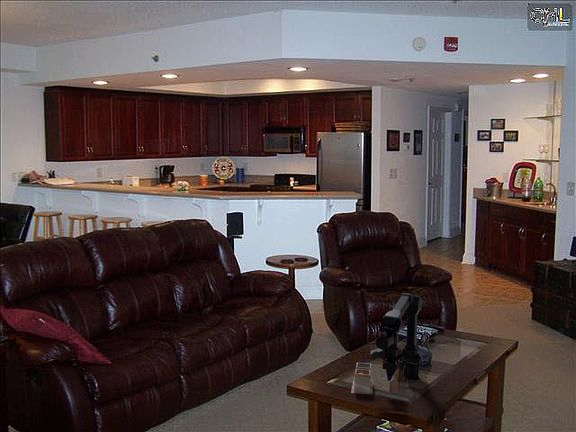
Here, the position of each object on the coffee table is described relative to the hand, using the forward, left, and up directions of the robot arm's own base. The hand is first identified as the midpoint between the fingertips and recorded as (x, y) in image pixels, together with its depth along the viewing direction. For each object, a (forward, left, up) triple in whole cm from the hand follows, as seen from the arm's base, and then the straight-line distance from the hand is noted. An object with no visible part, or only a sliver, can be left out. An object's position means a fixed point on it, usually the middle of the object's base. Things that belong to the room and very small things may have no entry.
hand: (389, 379), depth 280 cm
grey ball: (0, 0, -1) cm, 1 cm away
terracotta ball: (+11, -2, -2) cm, 11 cm away
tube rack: (+11, -7, -7) cm, 15 cm away
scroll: (-1, -59, -8) cm, 59 cm away
